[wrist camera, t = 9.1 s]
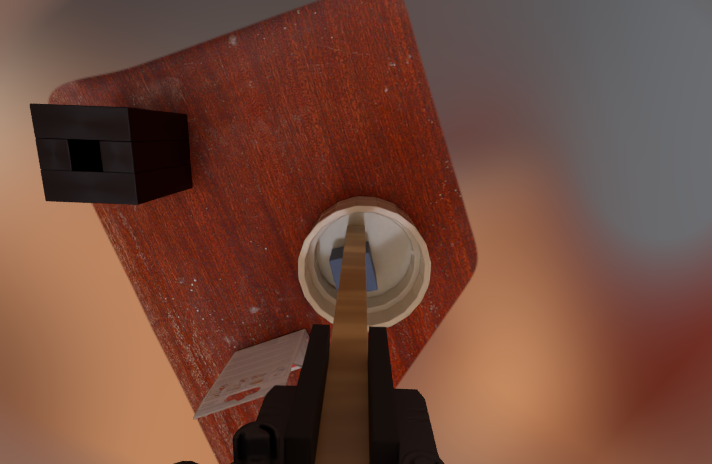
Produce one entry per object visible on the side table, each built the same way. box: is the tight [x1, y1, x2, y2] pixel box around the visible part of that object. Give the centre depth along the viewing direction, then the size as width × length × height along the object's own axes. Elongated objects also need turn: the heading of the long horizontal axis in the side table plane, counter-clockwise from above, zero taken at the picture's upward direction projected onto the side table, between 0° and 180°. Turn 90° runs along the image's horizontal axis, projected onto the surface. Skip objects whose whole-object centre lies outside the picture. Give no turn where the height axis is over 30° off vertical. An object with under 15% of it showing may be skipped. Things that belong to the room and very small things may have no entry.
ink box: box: [193, 329, 309, 419], centre depth 39 cm, size 3×9×12 cm, turn 111°
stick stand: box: [30, 104, 192, 205], centre depth 34 cm, size 7×7×10 cm
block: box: [329, 241, 378, 294], centre depth 39 cm, size 4×4×4 cm
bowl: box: [298, 196, 431, 331], centre depth 38 cm, size 12×12×6 cm
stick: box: [315, 225, 370, 464], centre depth 24 cm, size 2×2×30 cm
